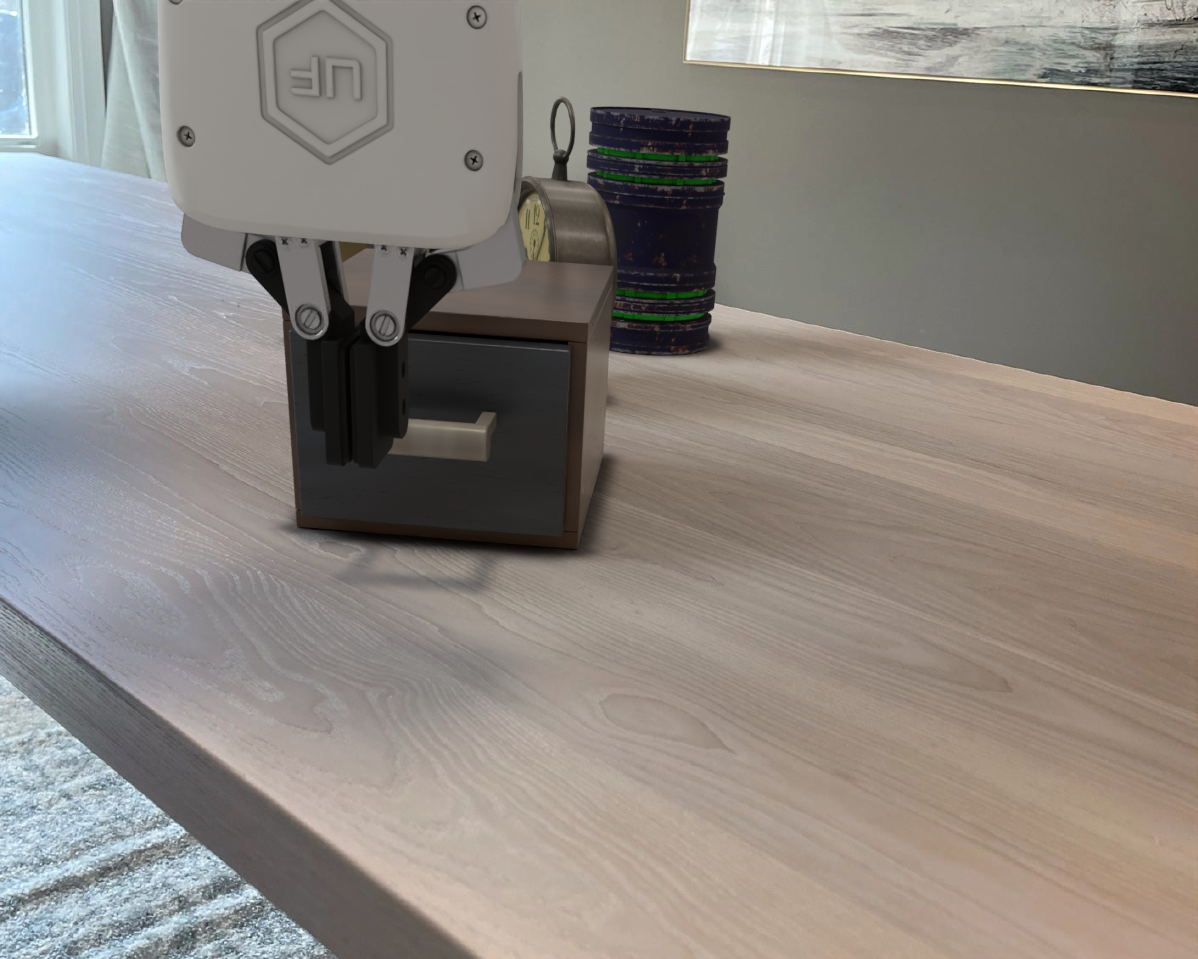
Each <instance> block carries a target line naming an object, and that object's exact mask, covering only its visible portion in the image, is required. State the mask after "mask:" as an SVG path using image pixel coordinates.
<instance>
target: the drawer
mask: <svg viewBox="0 0 1198 959" xmlns="http://www.w3.org/2000/svg"><path fill="white" fill-rule="evenodd" d="M289 338H290V353H291V368H292V384H293V399H294V414H295V429H296V444H297V459H298V474H299V489H300V504H301V515H302V517H310V518H322V519H335V520H347V521H360V522H372V523H384V524H397V525H409V526H422V527H434V528H447V529H459V530H471V531H484V532H496V533H509V534H521V535H533V536H546V537H558V538H561V537H562V535H563V532H564V529H565V512H566V489H567V465H568V442H569V418H570V395H571V371H572V346H571V345H568V342H569V341H556V340H542V339H529V338H515V337H502V336H488V335H475V334H462V333H448V332H435V331H421V330H409V331H408V376H409V421H408V429H407V433H406V435H405V436H404V437H403V438H402V439H397V438H394V441H393V446H392V448H391V450H390V451H389V452H388V454H387V455H386V456H385V458H384V459H383V460H382V462H381V463H380V464H379V466H378V467H377V468H376V469H367V468H360V467H359V464H357V463H354V462H353V460H352V461H351V462H350V463H346V464H345V466H334V465H328V464H327V461H326V447H325V432H320V431H314V430H313V429H312V427H311V423H310V409H309V389H308V368H307V348H306V338H304V337H302V336H300V335H299V334H298V333H297V332H296V331H295V329H294V328H292V329H291V330H290V331H289Z"/></svg>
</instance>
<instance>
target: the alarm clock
mask: <svg viewBox="0 0 1198 959" xmlns="http://www.w3.org/2000/svg"><path fill="white" fill-rule="evenodd" d="M562 103H563V104H564V105H565V107H566V110H567V112H568V118H569V125H570V135H569V136H570V137H569V142H568V146H567V149H566V150H565V149H561V148H560V149H559V147H558V142H557V137H556V118H557V113H558V109H559V107H560V105H561V104H562ZM549 129H550V140H551V144H552V148H553V151H554V152H553V154H552V160H553V161H554V163H553V168H552V172H551V177H550V178H549V177H537V176H532V175H525V176H522V183H521V192H520V198H519V203H518V206H517V210H518V215H519V220H520V226H521V231H522V236H523V241H524V247H525V252H526V257H527V260H535V261H549V262H563V263H577V264H591V265H605V266H613V267H614V274H613V292H612V310H611V320H612V315H613V310H614V304H615V297H616V292H617V250H616V241H615V234H614V229H613V224H612V220H611V217H610V214H609V211H608V208H607V206H606V204H605V202H604V200H603V199H602V197H601V196H600V194H599V193H598V192H597V191H596V190H595V189H594V188H593V187H592V186H591V185H589V184H587V182H585V181H582V180H571V179H569V178H568V163H569V161H570V156H571V154H572V152H573V149H574V145H575V140H576V117H575V111H574V108H573V105H572V103H571V102H570V100H569V99H568V98H567V97H566V96H563V95H561V96H558V97H557V98H556V99H555V100H554V101H553V105H552V108H551V112H550V120H549Z"/></svg>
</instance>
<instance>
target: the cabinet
mask: <svg viewBox="0 0 1198 959" xmlns="http://www.w3.org/2000/svg"><path fill="white" fill-rule="evenodd" d="M373 254H374V249H368V248H366V249H364V250H362V251H361V252H359V253H357V254H356V255H354V256H353V257H351V258H349V259H348V260H346V261H344V262H343V269H344V275H345V280H346V286H347V292H348V298H349V305H350V306H351V307H352V308H353V310H354V311H355V323H360V322H361V321H362V320H363V319H364V318H365V317H366V313H367V305H368V296H369V288H370V279H371V271H372V262H373ZM429 254H430V253H429ZM429 254H428V255H429ZM613 274H614V267H613V266H605V265H591V264H577V263H563V262H549V261H535V260H527V264H526V267H525V270H524V271H523V273H522V274H521V275H520V276H519V278H518V279H517V280H516V281H514V282H512V283H509V284H503V285H498V286H492V287H486V288H481V289H475V290H469V291H460V292H454V293H449V294H446V295H445V296H444V297H443V298H442V299H441V300H440V301H439V302H438V303H437V304H436V305H435V306H434V307H433V308H432V309H431V310H430V311H429V312H428V313H427V314H426V315H425V316H424V317H423V318H422V319H421V320H420V321H419V322H418V323H416V324H415V325H414V326H413V327H412V328H411V329H410V330H421V331H435V332H448V333H462V334H475V335H488V336H502V337H515V338H529V339H542V340H556V341H569V342H568V345H571V346H572V371H571V395H570V418H569V442H568V465H567V489H566V512H565V529H564V532H563V535H562V537H561V538H558V537H546V536H533V535H521V534H509V533H496V532H484V531H471V530H459V529H447V528H434V527H422V526H409V525H397V524H384V523H372V522H360V521H347V520H335V519H322V518H310V517H302V515H301V504H300V489H299V474H298V459H297V444H296V429H295V414H294V399H293V384H292V368H291V353H290V338H289V331H290V330H291V329H292V328H293V325H292V323H291V319H290V316H289V315H288V314H287V313H286V312H285V310H284V309H283V308H282V307H281V318H282V334H283V348H284V362H285V363H284V364H285V376H286V392H287V407H288V421H289V422H288V423H289V434H290V435H289V436H290V449H291V450H290V451H291V464H292V466H291V467H292V480H293V493H294V508H295V521H296V522H295V523H296V527H298V528H307V529H319V530H320V529H322V530H333V531H346V532H356V533H357V532H359V533H370V534H371V533H372V534H381V535H382V534H383V535H384V534H385V535H393V536H407V537H419V538H420V537H421V538H433V539H444V540H445V539H446V540H457V541H467V542H482V543H493V544H505V545H516V546H517V545H519V546H531V547H541V548H554V549H557V548H558V549H567V550H578V548H579V545H580V541H581V538H582V534H583V530H584V527H585V524H586V519H587V516H588V513H589V510H590V506H591V501H592V497H593V494H594V491H595V486H596V484H597V479H598V476H599V472H600V469H601V465H602V461H603V458H604V448H605V443H604V442H605V434H606V433H605V432H606V413H607V398H608V397H607V395H608V379H609V359H610V350H609V345H610V327H611V310H612V292H613Z"/></svg>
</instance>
